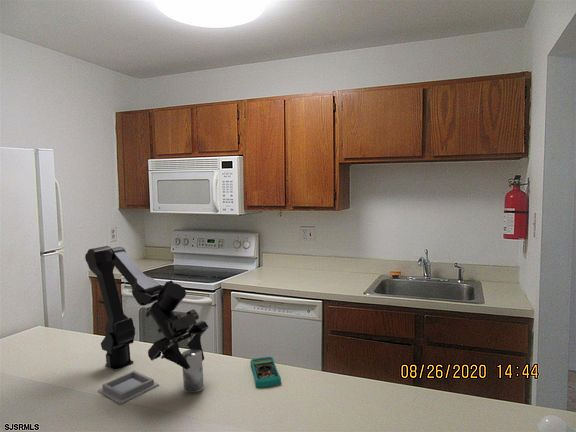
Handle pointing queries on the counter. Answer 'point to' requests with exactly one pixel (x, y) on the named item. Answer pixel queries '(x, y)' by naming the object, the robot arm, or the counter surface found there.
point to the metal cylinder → (193, 371)
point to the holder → (127, 387)
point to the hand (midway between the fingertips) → (195, 364)
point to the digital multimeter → (265, 372)
